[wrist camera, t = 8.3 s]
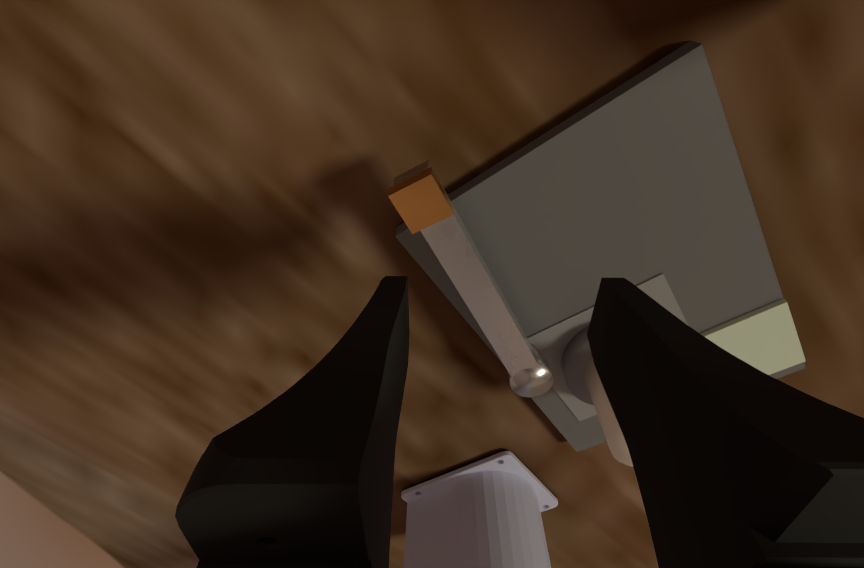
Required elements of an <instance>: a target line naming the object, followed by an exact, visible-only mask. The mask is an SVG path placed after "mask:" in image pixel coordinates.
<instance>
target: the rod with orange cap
mask: <svg viewBox="0 0 864 568" xmlns="http://www.w3.org/2000/svg"><path fill="white" fill-rule="evenodd" d="M388 197H389V199H390V200H391V202H392V203H393V205H394V206H395V208H396V209H397V211H398V213H399V214H400V216H401V217H402V219H403V220H404V222H405V224H406V225H407V227H408V228H409V230H410V231H411V233H412V234H414V233H416V232H418V231H421V233H422V234H423V236H424V237H425V239H426V241H427V242H428V244H429V245H430V247H431V249H432V250H433V252H434V253H435V255H436V257H437V258H438V260H439V261H440V263H441V265H442V266H443V268H444V269H445V271H446V273H447V274H448V276H449V278H450V279H451V281H452V282H453V284H454V286H455V287H456V289H457V290H458V292H459V294H460V295H461V297H462V298H463V300H464V302H465V303H466V305H467V306H468V308H469V310H470V311H471V313H472V314H473V316H474V318H475V319H476V321H477V323H478V324H479V326H480V327H481V329H482V331H483V332H484V334H485V335H486V337H487V339H488V340H489V342H490V343H491V345H492V347H493V348H494V350H495V351H496V353H497V355H498V356H499V358H500V359H501V361H502V363H503V364H504V366H505V368H506V369H507V371H508V377H509V382H510V387H511V389H512V391H513V392H514V393H516V394H517V395H519V396H522V397H536V396H540V395H542V394H544V393H546V392H547V391H548V390H549V389H550V388H551V387H552V385H553V376H552V373H551V369H550V365H549V363H548V361H547V360H546V359H544V358H543V357H541V356H538V355H536V353H535V351H534V350H533V348H532V346H531V344H530V342H529V341H528V339H527V337H526V335H525V333H524V332H523V330H522V328H521V326H520V324H519V323H518V321H517V319H516V317H515V315H514V314H513V312H512V310H511V308H510V306H509V305H508V303H507V301H506V299H505V297H504V296H503V294H502V292H501V290H500V288H499V287H498V285H497V283H496V281H495V279H494V278H493V276H492V274H491V272H490V270H489V269H488V267H487V265H486V263H485V261H484V260H483V258H482V256H481V254H480V252H479V251H478V249H477V247H476V245H475V243H474V242H473V240H472V238H471V236H470V234H469V233H468V231H467V229H466V227H465V225H464V224H463V222H462V220H461V218H460V216H459V215H458V213H457V211H456V209H455V207H454V206H453V204H452V202H451V200H450V198H449V197H448V195H447V193H446V191H445V189H444V188H443V186H442V184H441V182H440V180H439V179H438V177H437V175H436V173H435V171H434V170H433V168H432V166H431V164H430V162H429V161H428V160H427V161H426V162H424V163H422V164H420V165H418V166H416V167H414V168H412V169H410V170H408V171H406V172H404V173H402V174H401V175H399V176H397V177H395V179H394V184H393V187H392V188H390V189H389V194H388Z"/></svg>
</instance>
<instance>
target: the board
mask: <svg viewBox="0 0 864 568" xmlns="http://www.w3.org/2000/svg"><path fill="white" fill-rule="evenodd" d="M448 197H449V198H450V200H451V202H452V204H453V206H454V207H455V209H456V211H457V213H458V215H459V216H460V218H461V220H462V222H463V224H464V225H465V227H466V229H467V231H468V233H469V234H470V236H471V238H472V240H473V242H474V243H475V245H476V247H477V249H478V251H479V252H480V254H481V256H482V258H483V260H484V261H485V263H486V265H487V267H488V269H489V270H490V272H491V274H492V276H493V278H494V279H495V281H496V283H497V285H498V287H499V288H500V290H501V292H502V294H503V296H504V297H505V299H506V301H507V303H508V305H509V306H510V308H511V310H512V312H513V314H514V315H515V317H516V319H517V321H518V323H519V324H520V326H521V328H522V330H523V332H524V333H525V335H526V337H527V339H528V341H529V342H530V344H531V346H532V348H533V350H534V351H535V353H536V355H538V356H541V357H543V358H544V359H546V360H547V361H548V363H549V365H550V369H551V373H552V376H553V385H552V387H551V388H550V389H549V390H548V391H547V392H546V393H544V394H542V395H540V396H536V397H531V398H532V400H533V401H534V402H535V403H536V404H537V405H538V407H539V408H540V409H541V410H542V411H543V413H544V414H545V415H546V416H547V417H548V418H549V420H550V421H551V422H552V423H553V424H554V426H555V427H556V428H557V429H558V430H559V432H560V433H561V434H562V435H563V436H564V437H565V439H566V440H567V441H568V442H569V443H570V445H571V446H572V447H573V448H574V449H575V450H576V452H579V451H582V450H584V449H587V448H590V447H593V446H595V445H598V444H601V443H603V442H606V441H607V440H606V437H605V434H604V431H603V429H602V426H601V423H600V420H599V418H598V415H597V412H596V409H595V407H594V405H590V404H587V403H585V402H583V401H581V400H579V399H578V398H576V397H575V396H574V395H573V394H572V393H571V391H570V390H569V388H568V386H567V384H566V381H565V377H564V374H563V371H562V366H561V360H562V355H563V352H564V350H565V348H566V346H567V345H568V343H569V342H570V340H571V339H572V338H573V337H574V336H575V335H576V334H577V333H579V332H580V331H581V330H583V329H584V328H585V327H587V326H589V324H590V320H591V316H592V313H593V309H594V305H595V301H596V297H597V294H598V290H599V286H600V282H601V278H625V279H627V280H628V281H630V282H631V283H633V284H634V285H635V286H637V287H638V288H639V289H641V290H642V291H643V292H645V293H646V294H647V295H648V296H650V297H651V298H652V299H654V300H655V301H656V302H657V303H659V304H660V305H661V306H663V307H664V308H665V309H667V310H668V311H669V312H671V313H672V314H673V315H675V316H676V317H677V318H679V319H680V320H681V321H683V322H684V323H685V324H687V325H688V326H690V327H691V328H692V329H694V330H695V331H697V332H698V333H702V332H705V331H707V330H709V329H712V328H714V327H717V326H719V325H721V324H724V323H726V322H728V321H731V320H733V319H736V318H738V317H740V316H743V315H745V314H747V313H750V312H752V311H755V310H757V309H759V308H762V307H764V306H766V305H769V304H771V303H774V302H776V301H778V300H781V299H783V296H782V293H781V289H780V286H779V283H778V280H777V277H776V274H775V271H774V268H773V264H772V261H771V258H770V255H769V252H768V249H767V246H766V243H765V239H764V236H763V233H762V230H761V227H760V224H759V221H758V218H757V214H756V211H755V208H754V205H753V202H752V199H751V196H750V192H749V189H748V186H747V183H746V180H745V177H744V174H743V171H742V167H741V164H740V161H739V158H738V155H737V152H736V149H735V146H734V142H733V139H732V136H731V133H730V130H729V127H728V124H727V120H726V117H725V114H724V111H723V108H722V105H721V102H720V99H719V95H718V92H717V89H716V86H715V83H714V80H713V77H712V74H711V70H710V67H709V64H708V61H707V58H706V55H705V52H704V48H703V45H702V44H700V43H697V42H694V41H689V42H688V43H686V44H684V45H683V46H681V47H680V48H678V49H677V50H675V51H673V52H672V53H670V54H669V55H667V56H666V57H664V58H662V59H661V60H659V61H658V62H656V63H655V64H653V65H651V66H650V67H648V68H647V69H645V70H643V71H642V72H640V73H639V74H637V75H636V76H634V77H632V78H631V79H629V80H628V81H626V82H625V83H623V84H621V85H620V86H618V87H617V88H615V89H614V90H612V91H610V92H609V93H607V94H606V95H604V96H602V97H601V98H599V99H598V100H596V101H595V102H593V103H591V104H590V105H588V106H587V107H585V108H584V109H582V110H580V111H579V112H577V113H576V114H574V115H573V116H571V117H569V118H568V119H566V120H565V121H563V122H561V123H560V124H558V125H557V126H555V127H554V128H552V129H550V130H549V131H547V132H546V133H544V134H543V135H541V136H539V137H538V138H536V139H535V140H533V141H532V142H530V143H528V144H527V145H525V146H524V147H522V148H521V149H519V150H517V151H516V152H514V153H513V154H511V155H509V156H508V157H506V158H505V159H503V160H502V161H500V162H498V163H497V164H495V165H494V166H492V167H491V168H489V169H487V170H486V171H484V172H483V173H481V174H480V175H478V176H476V177H475V178H473V179H472V180H470V181H468V182H467V183H465V184H464V185H462V186H461V187H459V188H457V189H456V190H454V191H453V192H451V193H450V194H448ZM395 237H396V238H397V240H398V241H399V242H400V243H401V244H402V245H403V247H404V248H405V249H406V250H407V251H408V253H409V254H410V255H411V256H412V257H413V258H414V260H415V261H416V262H417V263H418V264H419V266H420V267H421V268H422V269H423V270H424V272H425V273H426V274H427V275H428V276H429V277H430V279H431V280H432V281H433V282H434V283H435V285H436V286H437V287H438V288H439V289H440V290H441V292H442V293H443V294H444V295H445V296H446V298H447V299H448V300H449V301H450V302H451V304H452V305H453V306H454V307H455V308H456V309H457V311H458V312H459V313H460V314H461V315H462V317H463V318H464V319H465V320H466V321H467V322H468V324H469V325H470V326H471V327H472V328H473V330H474V331H475V332H476V333H477V334H478V336H479V337H480V338H481V339H482V340H483V341H484V343H485V344H486V345H487V346H488V347H489V349H490V350H491V351H492V352H493V353H494V354H495V356H496V357H497V358H498V359H499V360H500V362H501V363H502V361H501V359H500V358H499V356H498V355H497V353H496V351H495V350H494V348H493V347H492V345H491V343H490V342H489V340H488V339H487V337H486V335H485V334H484V332H483V331H482V329H481V327H480V326H479V324H478V323H477V321H476V319H475V318H474V316H473V314H472V313H471V311H470V310H469V308H468V306H467V305H466V303H465V302H464V300H463V298H462V297H461V295H460V294H459V292H458V290H457V289H456V287H455V286H454V284H453V282H452V281H451V279H450V278H449V276H448V274H447V273H446V271H445V269H444V268H443V266H442V265H441V263H440V261H439V260H438V258H437V257H436V255H435V253H434V252H433V250H432V249H431V247H430V245H429V244H428V242H427V241H426V239H425V237H424V236H423V234H422V233H421V231H418V232H416V233H414V234H412V233H411V231H410V230H409V228H408V227H407V225H406V224H405V222H404V223H402V224H401V225H399V226H398V227H396V233H395ZM502 364H503V363H502ZM503 365H504V364H503ZM804 368H805V365H804V362H802V363H800V364H797V365H794V366H792V367H789V368H786V369H784V370H781V371H778V372H776V373H773V374H770V375H769V376H771V377H773V378H775V379H777V378H780V377H782V376H785V375H788V374H790V373H793V372H796V371H799V370H801V369H804Z"/></svg>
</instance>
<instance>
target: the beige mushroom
mask: <svg viewBox="0 0 864 568" xmlns="http://www.w3.org/2000/svg"><path fill="white" fill-rule="evenodd" d="M588 328H589V326H587V327H585V328H584V329H583V330H581V331H580V332H579V333H577V334H576V335H575V336H574V337H573V338H572V339H571V340H570V342H569V343H568V345H567V346H566V348H565V350H564V352H563V355H562V360H561V366H562V371H563V374H564V377H565V381H566V384H567V386H568V388H569V390H570V391H571V393H572V394H573V395H574V396H575V397H576V398H578V399H579V400H581V401H583V402H585V403H587V404H590V405H594V407H595V409H596V412H597V415H598V418H599V420H600V423H601V426H602V429H603V431H604V434H605V437H606V440H607V443H608V445H609V448H610V451H611V453H612V455H613V457H614V458H615V459H616V460H618V461H619V462H621V463H623V464H625V465H628V466H632V467H633V464H632V460H631V457H630V453H629V450H628V447H627V444H626V442H625V439H624V436H623V433H622V431H621V429H620V426H619V424H618V421H617V419H616V417H615V414H614V412H613V409H612V407H611V405H610V402H609V400H608V397H607V395H606V393H605V390H604V388H603V385H602V383H601V380H600V378H599V375H598V373H597V370H596V368H595V365H594V361H593V357H592V354H591V350H590V345H589V341H588V337H587V332H588Z"/></svg>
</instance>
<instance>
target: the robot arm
mask: <svg viewBox="0 0 864 568" xmlns="http://www.w3.org/2000/svg"><path fill="white" fill-rule="evenodd" d="M587 337H588V341H589V345H590V350H591V354H592V357H593V361H594V365H595V368H596V370H597V373H598V375H599V378H600V380H601V383H602V385H603V388H604V390H605V393H606V395H607V397H608V400H609V402H610V405H611V407H612V409H613V412H614V414H615V417H616V419H617V421H618V424H619V426H620V429H621V431H622V433H623V436H624V439H625V442H626V444H627V447H628V450H629V453H630V457H631V460H632V464H633V467H634V470H635V474H636V477H637V481H638V484H639V488H640V492H641V496H642V499H643V503H644V507H645V511H646V515H647V518H648V523H649V527H650V531H651V535H652V540H653V544H654V548H655V553H656V557H657V561H658V566H659V568H864V418H862V417H859V416H857V415H854V414H852V413H850V412H847V411H845V410H842V409H840V408H838V407H835V406H833V405H830V404H828V403H826V402H823V401H821V400H819V399H817V398H814V397H812V396H810V395H808V394H806V393H803V392H801V391H799V390H797V389H795V388H793V387H791V386H789V385H787V384H785V383H783V382H781V381H779V380H777V379H775V378H773V377H771V376H769V375H767V374H765V373H764V372H762V371H760V370H758V369H756V368H754V367H753V366H751V365H749V364H748V363H746V362H744V361H742V360H741V359H739V358H737V357H735V356H734V355H732V354H730V353H729V352H727V351H725V350H724V349H722V348H721V347H719V346H718V345H716V344H715V343H713V342H712V341H710V340H709V339H707V338H706V337H704V336H703V335H701V334H700V333H698V332H697V331H695V330H694V329H692V328H691V327H690V326H688V325H687V324H685V323H684V322H683V321H681V320H680V319H679V318H677V317H676V316H675V315H673V314H672V313H671V312H669V311H668V310H667V309H665V308H664V307H663V306H661V305H660V304H659V303H657V302H656V301H655V300H654V299H652V298H651V297H650V296H648V295H647V294H646V293H645V292H643V291H642V290H641V289H639V288H638V287H637V286H635V285H634V284H633V283H631V282H630V281H628V280H627V279H625V278H601V282H600V286H599V290H598V294H597V297H596V301H595V305H594V309H593V313H592V316H591V320H590V324H589V328H588V332H587ZM408 353H409V306H408V276H385V277H384V278H383V279H382V280H381V282H380V284H379V286H378V288H377V289H376V291H375V293H374V294H373V296H372V298H371V299H370V301H369V302H368V304H367V305H366V307H365V308H364V310H363V311H362V312H361V314H360V315H359V317H358V318H357V319H356V321H355V322H354V323H353V325H352V326H351V327H350V328H349V330H348V331H347V332H346V333H345V335H344V336H343V337H342V338H341V339H340V341H339V342H338V343H337V344H336V345H335V346H334V347H333V348H332V350H331V351H330V352H329V353H328V354H327V355H326V356H325V357H324V358H323V359H322V360H321V361H320V362H319V363H318V364H317V365H316V366H315V367H314V368H313V369H311V370H310V371H309V372H308V373H307V374H306V375H305V376H304V377H302V378H301V379H300V380H299V381H298V382H297V383H295V384H294V385H293V386H292V387H291V388H289V389H288V390H287V391H286V392H284V393H283V394H281V395H280V396H279V397H277V398H276V399H275V400H273V401H272V402H271V403H269V404H268V405H266V406H265V407H263V408H262V409H261V410H259V411H257V412H256V413H254V414H253V415H251V416H250V417H248V418H246V419H245V420H243V421H241V422H240V423H238V424H236V425H235V426H233V427H231V428H230V429H228V430H226V431H224V432H223V433H221V434H219V435H217V436H216V437H214V438H213V439H212V441H211V442H210V444H209V446H208V447H207V449H206V451H205V452H204V454H203V455H202V457H201V458H200V460H199V462H198V464H197V465H196V467H195V469H194V471H193V473H192V475H191V477H190V480H189V482H188V484H187V486H186V488H185V490H184V492H183V494H182V497H181V499H180V501H179V503H178V505H177V509H176V515H175V517H176V519H177V522H178V525H179V527H180V529H181V531H182V532H183V534H184V536H185V537H186V539H187V541H188V542H189V544H190V546H191V547H192V549H193V550H194V552H195V554H196V555H197V557H198V559H199V560H200V561H199V563H198V566H197V568H389V548H390V529H391V510H392V492H393V475H394V459H395V446H396V437H397V430H398V423H399V417H400V411H401V405H402V399H403V393H404V386H405V380H406V374H407V367H408ZM401 498H402V499H403V500H404V501H405V502H407V517H406V537H405V556H404V568H551V564H550V559H549V554H548V549H547V544H546V538H545V533H544V528H543V523H542V517H541V512H543V511H546V510H549V509H552V508H555V507H556V506H557V505H558V500H557V498H556V497H555V496H554V495H553V494H552V493H551V492H550V491H549V490H548V489H547V488H546V487H545V486H544V485H543V484H542V483H541V482H540V481H539V480H538V479H537V478H536V477H535V476H534V475H533V474H532V473H531V472H530V471H529V470H528V469H527V468H526V467H525V466H524V465H523V464H522V463H521V462H520V460H519V459H518V458H517V457H516V456H515V455H514V454H513V453H511V452H510V451H503V452H500V453H497V454H495V455H492V456H490V457H487V458H485V459H482V460H480V461H477V462H474V463H472V464H469V465H467V466H464V467H462V468H459V469H457V470H454V471H452V472H449V473H446V474H444V475H441V476H439V477H436V478H434V479H431V480H429V481H426V482H423V483H421V484H418V485H416V486H413V487H411V488H408V489H406V490H404V491H402V492H401Z"/></svg>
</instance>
